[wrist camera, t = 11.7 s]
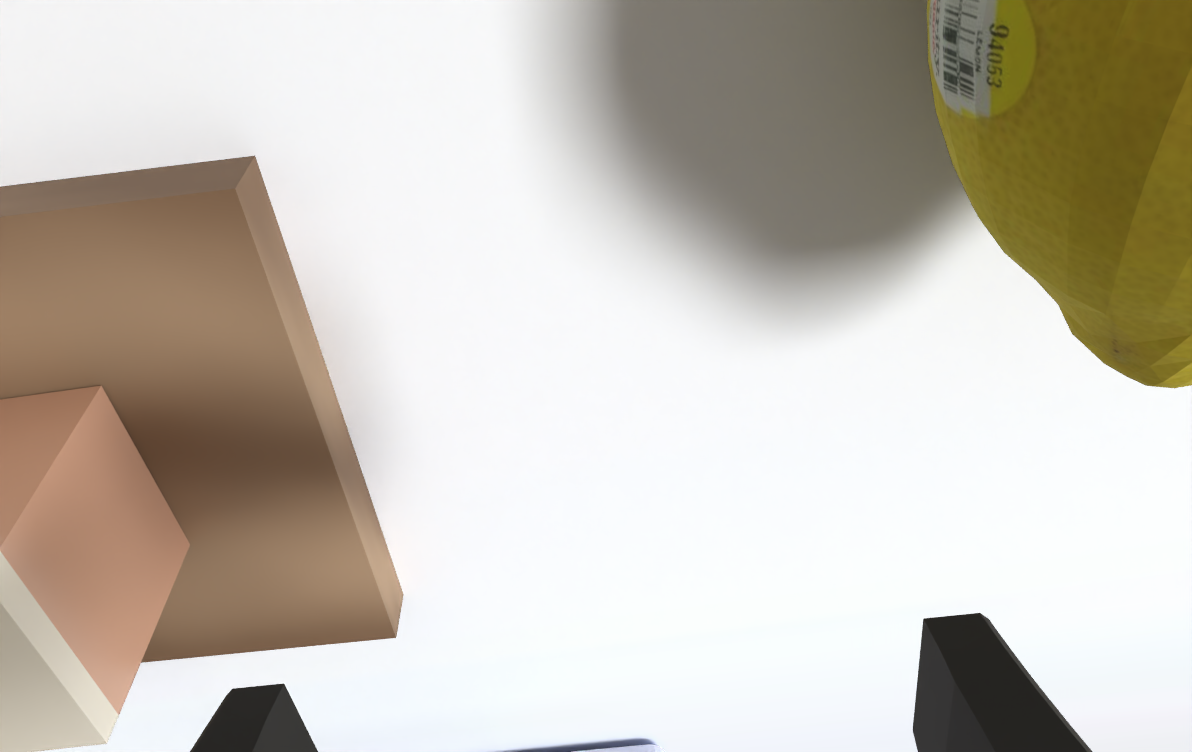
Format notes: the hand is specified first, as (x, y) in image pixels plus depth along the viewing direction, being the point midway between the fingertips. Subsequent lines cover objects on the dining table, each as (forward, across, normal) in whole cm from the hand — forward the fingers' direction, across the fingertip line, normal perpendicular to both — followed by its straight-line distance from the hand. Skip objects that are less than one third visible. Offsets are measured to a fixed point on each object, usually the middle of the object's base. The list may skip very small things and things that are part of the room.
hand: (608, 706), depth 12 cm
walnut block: (+11, +12, +3) cm, 17 cm away
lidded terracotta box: (+9, +12, +3) cm, 15 cm away
